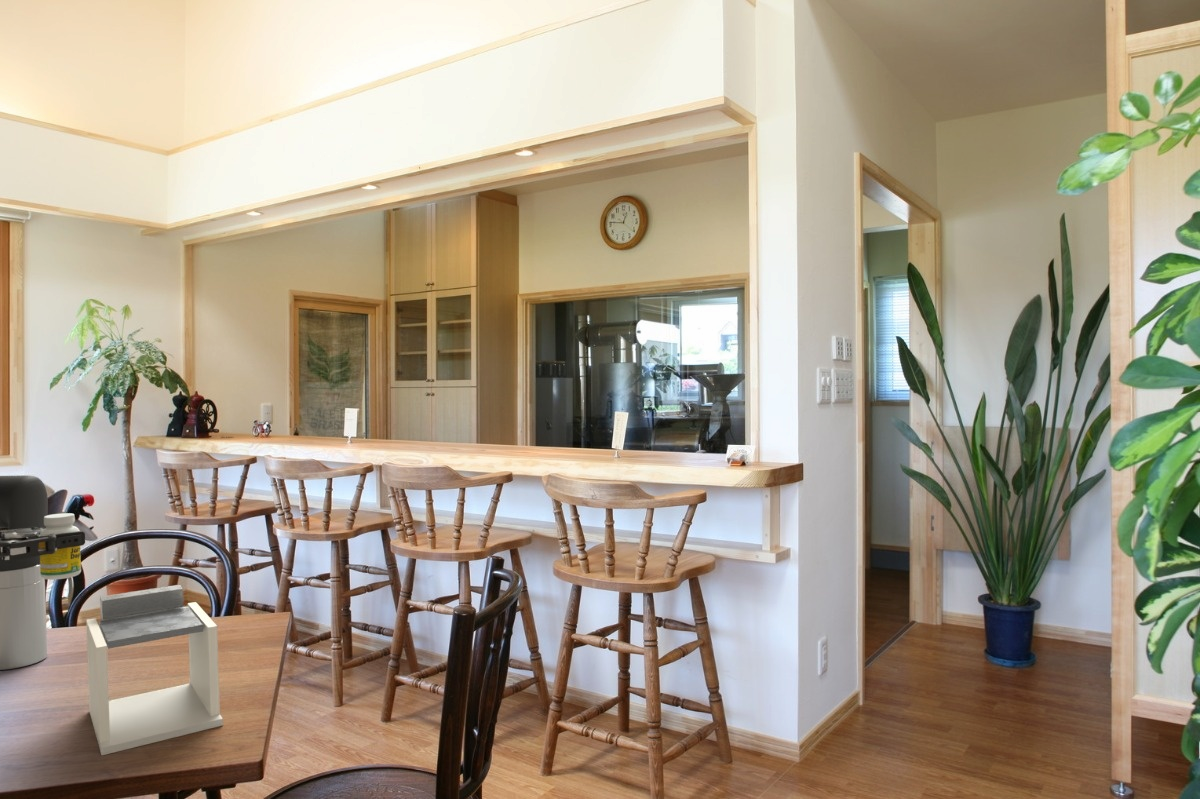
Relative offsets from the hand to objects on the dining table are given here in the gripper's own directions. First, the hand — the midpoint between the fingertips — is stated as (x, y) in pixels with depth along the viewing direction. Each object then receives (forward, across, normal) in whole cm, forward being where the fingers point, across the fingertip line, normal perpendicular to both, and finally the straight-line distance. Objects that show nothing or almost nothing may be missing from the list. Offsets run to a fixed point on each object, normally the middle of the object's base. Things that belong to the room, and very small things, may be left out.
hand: (78, 535), depth 130 cm
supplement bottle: (-3, 0, +6) cm, 7 cm away
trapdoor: (+5, -17, +12) cm, 21 cm away
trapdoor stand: (+4, -19, +25) cm, 32 cm away
